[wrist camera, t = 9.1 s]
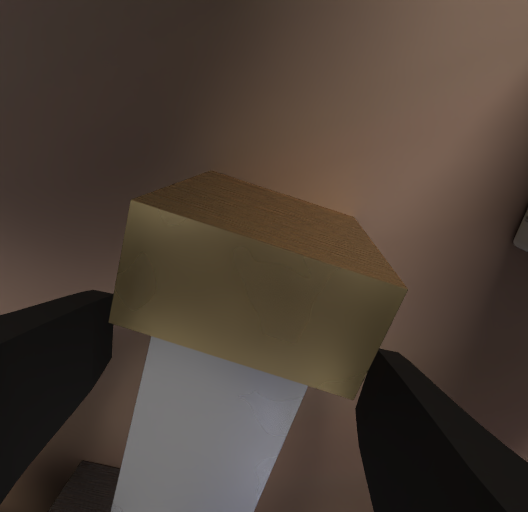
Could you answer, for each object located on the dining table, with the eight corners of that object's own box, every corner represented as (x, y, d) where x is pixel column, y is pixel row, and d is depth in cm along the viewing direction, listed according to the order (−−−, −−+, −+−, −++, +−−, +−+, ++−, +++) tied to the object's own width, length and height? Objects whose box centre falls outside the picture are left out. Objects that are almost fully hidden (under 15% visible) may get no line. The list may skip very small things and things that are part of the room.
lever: (258, 452, 15) (236, 637, 10) (148, 418, 15) (61, 584, 10) (353, 217, 12) (408, 289, 6) (211, 170, 12) (131, 200, 6)
